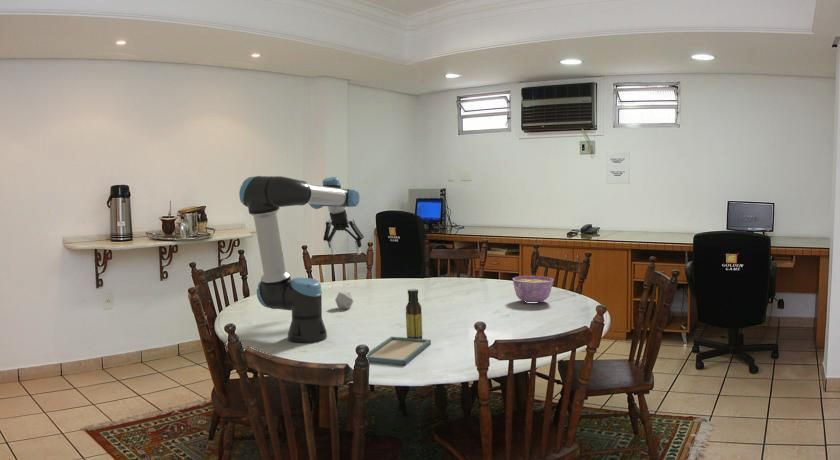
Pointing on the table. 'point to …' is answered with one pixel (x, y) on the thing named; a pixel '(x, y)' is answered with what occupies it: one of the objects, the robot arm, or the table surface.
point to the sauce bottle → (413, 315)
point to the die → (344, 300)
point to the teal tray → (397, 350)
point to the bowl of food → (532, 288)
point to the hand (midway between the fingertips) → (346, 253)
